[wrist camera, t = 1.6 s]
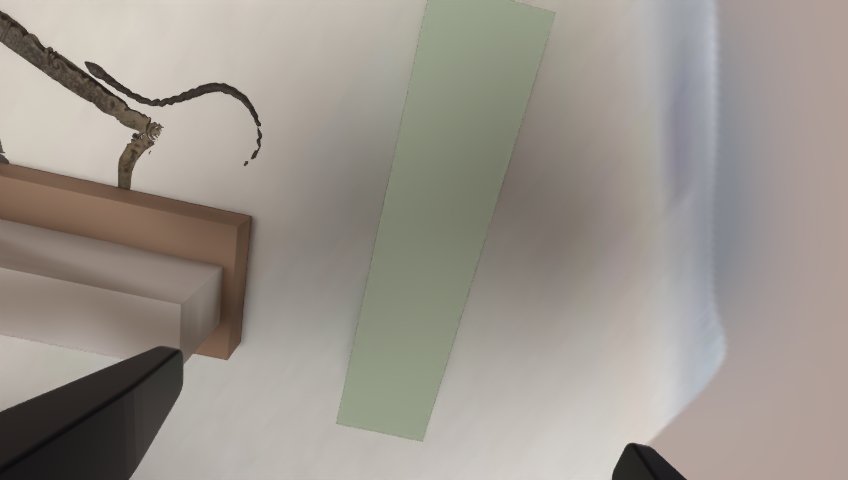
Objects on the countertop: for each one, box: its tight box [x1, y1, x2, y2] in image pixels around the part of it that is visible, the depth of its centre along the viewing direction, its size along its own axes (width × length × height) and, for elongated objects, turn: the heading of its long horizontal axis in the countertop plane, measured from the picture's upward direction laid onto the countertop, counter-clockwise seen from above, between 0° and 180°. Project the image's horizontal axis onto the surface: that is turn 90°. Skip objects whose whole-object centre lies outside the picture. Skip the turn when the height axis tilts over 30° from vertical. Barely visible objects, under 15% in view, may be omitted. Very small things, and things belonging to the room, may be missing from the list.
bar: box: [336, 0, 556, 441], centre depth 19 cm, size 18×4×4 cm, turn 167°
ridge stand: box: [0, 162, 251, 365], centre depth 19 cm, size 7×18×5 cm, turn 78°
